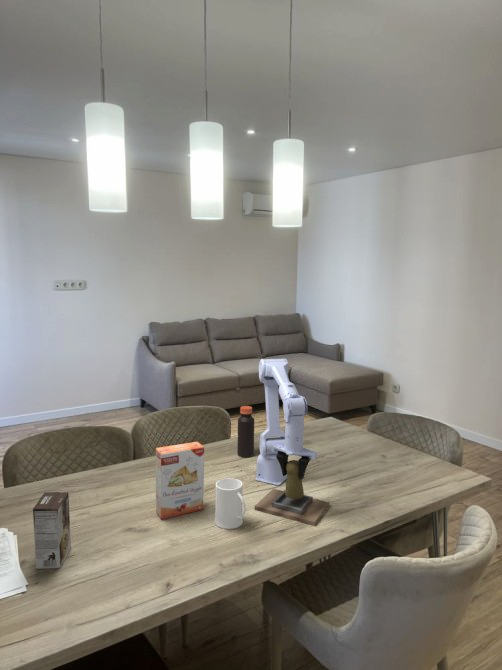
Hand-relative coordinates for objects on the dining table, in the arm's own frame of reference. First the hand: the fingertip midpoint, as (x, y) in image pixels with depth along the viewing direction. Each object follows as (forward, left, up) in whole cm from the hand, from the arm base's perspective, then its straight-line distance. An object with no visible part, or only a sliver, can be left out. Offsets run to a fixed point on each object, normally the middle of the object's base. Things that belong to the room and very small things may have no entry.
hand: (293, 476), depth 150 cm
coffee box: (-44, -55, -11) cm, 71 cm away
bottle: (-34, +32, -11) cm, 48 cm away
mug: (-12, -18, -11) cm, 24 cm away
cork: (0, +1, -6) cm, 6 cm away
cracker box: (-30, -19, -11) cm, 37 cm away
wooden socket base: (0, 0, -10) cm, 10 cm away
